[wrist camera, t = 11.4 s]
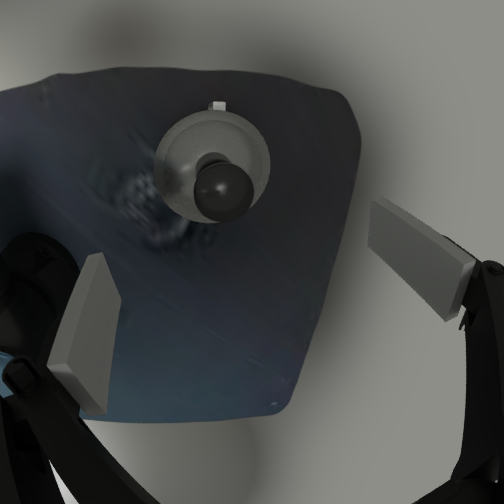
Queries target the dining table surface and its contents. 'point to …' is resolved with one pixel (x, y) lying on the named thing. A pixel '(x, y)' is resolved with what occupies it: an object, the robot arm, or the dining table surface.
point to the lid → (211, 166)
